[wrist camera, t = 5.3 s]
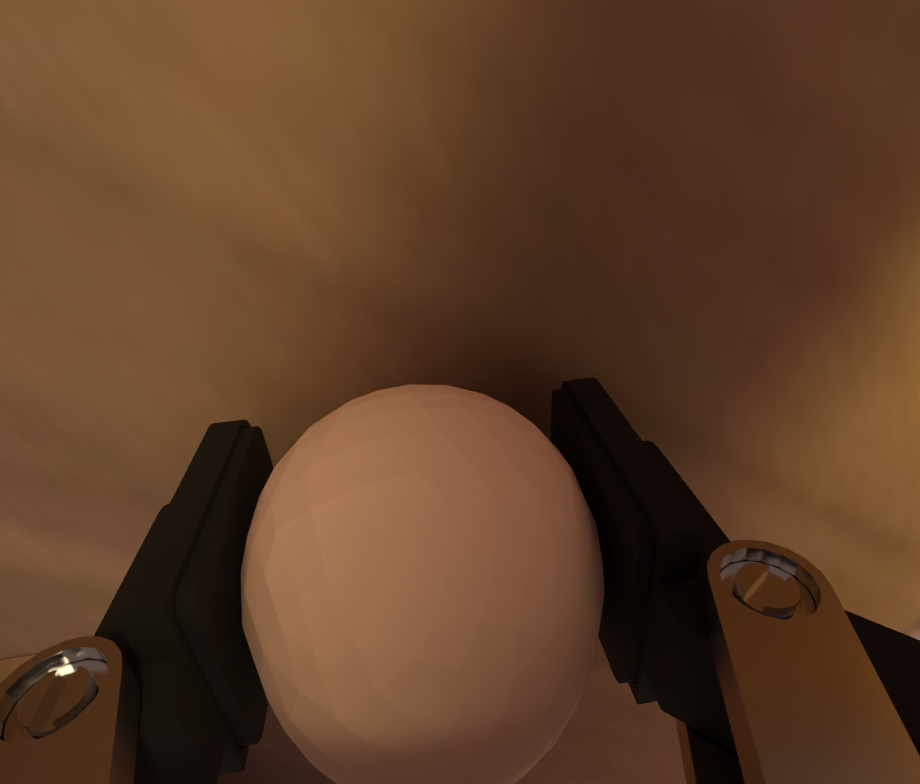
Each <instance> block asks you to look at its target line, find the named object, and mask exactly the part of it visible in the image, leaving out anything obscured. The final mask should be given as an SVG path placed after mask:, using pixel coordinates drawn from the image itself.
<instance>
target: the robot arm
mask: <svg viewBox="0 0 920 784" xmlns="http://www.w3.org/2000/svg"><path fill="white" fill-rule="evenodd" d="M551 443H552V444H553V445H554V446H555V447H556V448H557V449H558V450H559V452H560V453H561V454H562V456H563V457H564V458H565V460H566V461H567V462H568V464H569V465H570V466H571V468H572V470H573V472H574V474H575V476H576V479H577V481H578V483H579V486H580V488H581V490H582V493H583V495H584V497H585V499H586V502H587V504H588V506H589V509H590V511H591V513H592V516H593V518H594V520H595V522H596V525H597V531H598V537H599V543H600V549H601V555H602V561H603V574H604V590H605V596H604V602H603V609H602V615H601V621H600V628H599V634H598V636H599V639H600V641H601V644H602V646H603V649H604V651H605V654H606V656H607V659H608V661H609V664H610V667H611V669H612V672H613V674H614V676H615V678H616V680H617V681H618V683H620V684H621V683H627V682H628V683H629V685H630V688H631V690H632V693H633V695H634V697H635V700H636V702H637V704H643V703H649V702H655V701H658V704H659V706H660V708H661V710H663V711H664V712H666V713H668V714H669V715H671V716H673V717H675V718H676V724H677V730H678V736H679V742H680V748H681V754H682V760H683V766H684V772H685V778H686V784H920V640H917V639H915V638H912V637H910V636H907V635H905V634H902V633H900V632H897V631H895V630H892V629H890V628H887V627H885V626H883V625H880V624H878V623H875V622H873V621H870V620H868V619H865V618H863V617H860V616H858V615H855V614H853V613H851V612H848V611H846V610H844V609H843V607H842V605H841V603H840V601H839V599H838V597H837V595H836V593H835V591H834V589H833V587H832V586H831V584H830V583H829V582H828V580H827V579H826V577H825V576H824V575H823V573H822V572H821V571H820V570H819V569H817V568H816V567H815V566H814V565H813V564H812V563H810V562H809V561H808V560H807V559H805V558H803V557H802V556H800V555H798V554H796V553H795V552H793V551H791V550H789V549H786V548H784V547H781V546H778V545H775V544H772V543H769V542H763V541H757V540H735V541H732V542H730V541H729V539H728V538H727V537H726V535H725V534H724V533H723V531H722V530H721V529H720V528H719V526H718V525H717V524H716V522H715V521H714V520H713V518H712V517H711V516H710V515H709V513H708V512H707V511H706V509H705V508H704V507H703V505H702V504H701V503H700V502H699V500H698V499H697V498H696V496H695V495H694V494H693V492H692V491H691V490H690V489H689V487H688V486H687V485H686V483H685V482H684V481H683V479H682V478H681V477H680V476H679V474H678V473H677V472H676V470H675V469H674V468H673V466H672V465H671V464H670V463H669V461H668V460H667V459H666V457H665V456H664V455H663V453H662V452H661V451H660V450H659V448H658V447H657V446H656V445H655V444H654V443H653V442H650V441H642V440H641V439H640V437H639V436H638V435H637V433H636V432H635V431H634V429H633V428H632V427H631V425H630V424H629V423H628V421H627V420H626V418H625V417H624V416H623V414H622V413H621V412H620V410H619V409H618V408H617V406H616V405H615V404H614V402H613V401H612V399H611V398H610V397H609V395H608V394H607V393H606V391H605V390H604V389H603V387H602V386H601V385H600V383H599V382H598V381H597V379H595V378H584V379H576V380H568V381H564V382H563V383H562V387H561V389H558V390H554V391H553V393H552V416H551ZM272 471H273V466H272V463H271V459H270V456H269V453H268V449H267V446H266V442H265V439H264V436H263V433H262V430H261V428H260V427H259V426H255V427H251V426H250V424H249V423H248V421H247V420H238V421H229V422H221V423H214V424H211V425H210V426H209V428H208V430H207V432H206V434H205V436H204V438H203V440H202V442H201V444H200V445H199V447H198V449H197V451H196V453H195V455H194V457H193V459H192V461H191V463H190V465H189V467H188V469H187V471H186V473H185V475H184V477H183V479H182V481H181V483H180V485H179V487H178V489H177V491H176V492H175V494H174V496H173V498H172V500H171V502H170V504H167V505H165V506H163V508H162V509H161V510H160V512H159V513H158V515H157V517H156V519H155V521H154V523H153V525H152V527H151V528H150V530H149V532H148V534H147V536H146V538H145V540H144V542H143V544H142V546H141V547H140V549H139V551H138V553H137V555H136V557H135V559H134V561H133V563H132V565H131V566H130V568H129V570H128V572H127V574H126V576H125V578H124V580H123V582H122V584H121V585H120V587H119V589H118V591H117V593H116V595H115V597H114V599H113V601H112V603H111V604H110V606H109V608H108V610H107V612H106V614H105V616H104V618H103V620H102V622H101V623H100V625H99V627H98V629H97V631H96V633H95V635H94V636H83V637H79V638H75V639H71V640H67V641H63V642H61V643H59V644H57V645H55V646H52V647H50V648H48V649H46V650H43V651H42V652H40V653H38V654H37V655H35V656H34V657H32V658H31V659H29V660H28V661H26V662H25V663H23V664H21V665H20V666H19V667H18V668H17V669H16V670H15V671H13V672H12V673H11V674H10V675H9V676H8V677H7V678H5V679H4V680H3V681H2V682H1V683H0V784H216V782H217V778H218V775H223V774H228V773H234V772H240V771H244V768H245V763H246V758H247V753H248V748H249V745H252V744H257V743H258V742H259V741H260V739H261V737H262V732H263V728H264V722H265V717H266V711H267V706H268V700H267V697H266V694H265V691H264V688H263V685H262V683H261V680H260V677H259V674H258V671H257V668H256V665H255V663H254V660H253V657H252V654H251V651H250V648H249V645H248V642H247V639H246V636H245V633H244V630H243V627H242V605H241V568H242V562H243V557H244V552H245V546H246V541H247V535H248V531H249V528H250V525H251V521H252V518H253V515H254V512H255V509H256V505H257V502H258V499H259V496H260V494H261V492H262V491H263V489H264V487H265V485H266V483H267V481H268V479H269V477H270V475H271V473H272Z"/></svg>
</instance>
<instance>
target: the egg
mask: <svg viewBox="0 0 920 784" xmlns="http://www.w3.org/2000/svg"><path fill="white" fill-rule="evenodd" d="M604 596H605V590H604V574H603V561H602V555H601V549H600V543H599V537H598V531H597V525H596V522H595V520H594V518H593V516H592V513H591V511H590V509H589V506H588V504H587V502H586V499H585V497H584V495H583V493H582V490H581V488H580V486H579V483H578V481H577V479H576V476H575V474H574V472H573V470H572V468H571V466H570V465H569V464H568V462H567V461H566V460H565V458H564V457H563V456H562V454H561V453H560V452H559V450H558V449H557V448H556V447H555V446H554V445H553V444H552V443H551V442H550V441H549V439H548V438H547V437H546V436H545V435H544V434H543V433H542V432H541V431H540V430H539V429H538V428H537V427H536V426H535V424H533V423H532V422H530V421H529V420H528V419H526V418H525V417H523V416H522V415H521V414H519V413H518V412H516V411H515V410H514V409H512V408H511V407H510V406H508V405H506V404H504V403H502V402H499V401H497V400H495V399H493V398H491V397H489V396H487V395H484V394H482V393H478V392H474V391H469V390H465V389H461V388H457V387H453V386H449V385H414V384H408V385H403V386H398V387H393V388H388V389H383V390H378V391H375V392H372V393H369V394H367V395H364V396H361V397H359V398H356V399H353V400H351V401H349V402H347V403H345V404H344V405H342V406H341V407H339V408H338V409H336V410H335V411H333V412H331V413H330V414H328V415H327V416H325V417H324V418H322V419H321V420H319V421H318V422H316V423H314V424H313V425H311V426H310V427H309V428H308V429H307V431H306V432H305V433H304V434H303V435H302V436H301V437H300V438H299V440H298V441H297V442H296V443H295V444H294V445H293V446H292V448H291V449H290V450H289V451H288V452H287V453H286V454H285V455H284V457H283V458H282V459H281V460H280V461H279V462H278V463H277V465H276V466H275V467H274V469H273V471H272V473H271V475H270V477H269V479H268V481H267V483H266V485H265V487H264V489H263V491H262V492H261V494H260V496H259V499H258V502H257V505H256V509H255V512H254V515H253V518H252V521H251V525H250V528H249V531H248V535H247V541H246V546H245V552H244V557H243V562H242V568H241V605H242V627H243V630H244V633H245V636H246V639H247V642H248V645H249V648H250V651H251V654H252V657H253V660H254V663H255V665H256V668H257V671H258V674H259V677H260V680H261V683H262V685H263V688H264V691H265V694H266V697H267V700H268V703H269V705H270V706H271V708H272V710H273V712H274V714H275V715H276V717H277V719H278V721H279V722H280V724H281V726H282V728H283V729H284V731H285V732H286V734H287V735H288V736H289V737H290V739H291V740H292V741H293V742H294V744H295V745H296V746H297V747H298V748H299V750H300V751H301V752H302V753H303V755H304V756H305V757H306V758H307V760H308V761H309V762H310V763H311V764H312V765H313V766H314V767H316V768H317V769H318V770H319V771H320V772H321V773H323V774H324V775H325V776H327V777H328V778H329V779H330V780H332V781H333V782H335V783H336V784H515V783H516V782H517V781H519V780H520V779H521V778H523V777H524V776H525V775H526V774H527V773H528V772H529V771H530V770H531V769H532V768H533V767H534V766H535V765H536V764H537V763H538V762H539V761H540V760H541V759H542V758H543V757H544V756H545V755H546V754H547V753H548V752H549V751H550V750H551V749H552V748H553V747H554V746H555V744H556V742H557V741H558V739H559V737H560V736H561V734H562V732H563V731H564V729H565V727H566V725H567V724H568V722H569V720H570V719H571V717H572V715H573V714H574V712H575V710H576V709H577V707H578V705H579V702H580V699H581V697H582V694H583V691H584V688H585V686H586V683H587V680H588V677H589V675H590V672H591V669H592V666H593V664H594V660H595V653H596V647H597V641H598V634H599V628H600V621H601V615H602V609H603V602H604Z"/></svg>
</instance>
